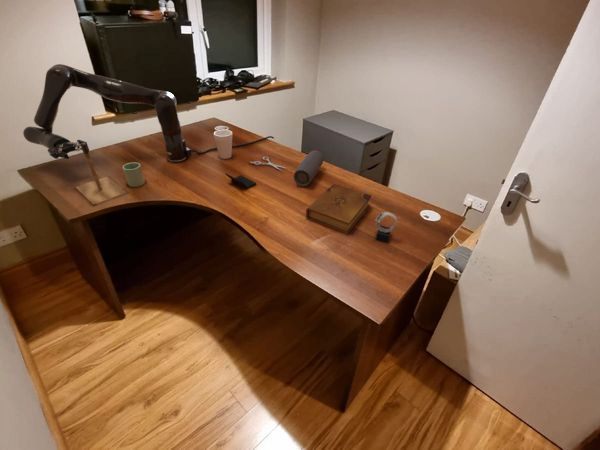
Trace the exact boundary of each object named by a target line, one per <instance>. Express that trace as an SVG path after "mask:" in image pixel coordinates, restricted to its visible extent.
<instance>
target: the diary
mask: <svg viewBox="0 0 600 450" xmlns="http://www.w3.org/2000/svg"><path fill="white" fill-rule="evenodd" d="M371 198H372V195H371V194H368V193H365V192H362V191H358V190H355V189H353V188H349V187H346V186H342V185H340V184H336V183H333V184H331V185H330V186H329V187H328V188H327V189H325V190H324V191H323V193H322V194H320V196H319V197H318V198H317V199H315V200H314V201H313V202H312V203H311V204H310V205H309V206H308V207H307V208H306V210H305V211H306V212H305V218H306V219H307V220H308V221H311V222H313V223H315V224H318V225H321V226H324V227H326V228H329V229H332V230H334V231H337V232H339V233H343V234H344V235H349V233H350V232H351V231H352V230H353V228H354V227H355V225H356V224H357V223H358V222H359V221H360V219H361V218H362V217H363V215H364V214H365V213H366V212H367V210H368V209H369V208H370V207H371V204H370V203H369V202H370V200H371Z"/></svg>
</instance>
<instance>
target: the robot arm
mask: <svg viewBox="0 0 600 450" xmlns="http://www.w3.org/2000/svg"><path fill="white" fill-rule="evenodd" d="M71 87H75V88H81V89H85V90H89V91H90V92H93V93H95V94H96V95H99V96H100V97H102V98H104V99H106V100H110V101H114V102H118V103H123V104H124V103H125V104H146V105H150V106H153V107H154V109H155V113H156V117H157V121H158V124H159V126H160V131H161V134H162V138H163V143H164V147H165V152H166V155H167V160H168V162H171V163H180V162H184V161H186V160H187V159H188V158H189V156H192V152H194V153H196V154H198V155H203V154H207V153H208V152H211V151H216V150H218V149H217V147H213V148H208V149H207V150H204V151H198V150H195V149H191V148H189V147H187V144H186V141H185V139H184V137H183V133H182V128H181V122H180V119H179V115H178V111H177V103H178V102H177V98H176V96H174V94H173V93H171V92H169V91H165V90H161V89H153V88H147V87H144V86H141V85H138V84H134V83H130V82H128V81H127V82H126V81H123V80H119V79H116V78H111V77H107V76H104V75H100V74H99V75H98V74H95V73H90V72H86V71H83V70H80V69H78V68H74V67H72V66H69V65H66V64H62V63H58V64H54V65H52V66H51V67H50V68H49V69H47V71H46V73H45V79H44V87H43V92H42V97H41V100H40V102H39V105H38V107H37V110H36V113H35V115H34V118H33V122H34V124H35V125H36V126H27V127H25V128H24V129H23V132H22V134H23V137H24V139H25V140H26V141H27V142H29V143H31V144H35V145H39V146H43V147H45V148H47V153H48V155H49V156H50V157H52V158H53V159H55V160H57V159H59V158H60V159H61V158H62V159H66V160H70V156H69V155H68V154H69V153H71V152H72V153H73V152H80V151H82V148H81V146H80V144H81V143H85V144H86V146H87V149H88V152H89V153H90V148H89V145H88V142H87V141H84V140H81V139H77V140H76V141H75V142H74V141H70V140H69V139H68V138H66V137H64V136H62V135H59V134H57V133H53V129H54V123H55V121H56V119H57V116H58V112H59V108H60V107H59V106H60V103H61V100H62V99H63V97H64V95H65V94H66V92H67V91H68V90H69V89H71ZM37 126H38V127H37ZM268 139H273V140H274V139H275V137H274V136H273V135H268V136H266V137H262V138H259V139H257V140H253V141H249V142H245V143H241V144H236V145H232V148H238V147H243V146H248V145H251V144H255V143H258V142H261V141H265V140H268Z"/></svg>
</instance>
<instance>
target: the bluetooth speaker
mask: <svg viewBox="0 0 600 450" xmlns="http://www.w3.org/2000/svg"><path fill="white" fill-rule="evenodd" d="M324 157H325V156H324V155H323V153H322V152H321V151H319V150H317V149H313V150H312V151H310V152H309V153H308V154H307V155H306V156H305V157H304V158H303V159H302V161H301V162H300V163H299V165H298V166H297V168H296V169H295V171H294V174H293V180H294V182H295V183H296V184H297V185H299V186H301V187H305V186H308V185H309V184H310V183H311V182H312V181H313V179H314V178H315V177H316V175H317V174H318V173H319V171H320V169H321V167H322V165H323V164H324V160H325V158H324Z"/></svg>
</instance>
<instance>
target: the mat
mask: <svg viewBox="0 0 600 450" xmlns="http://www.w3.org/2000/svg"><path fill="white" fill-rule="evenodd" d="M98 179H99V181H100V184H101V187H102V190H99V189H98V187H97V184H96V182H95V180H92V181H89V182H86V183H83V184H80V185H77V186H75V189H76V190H77V191H78V192H79V193H80V194H81V195H82V196H83V197H84V198H85V199H86V200H87V201H88V202H89V203H90V204H91V205H92V206H96V205H97V204H99V203H102V202H104V201H106V200H110V199H113V198H115V197H117V196H120V195H123V194H126V193H127V191H125V189H123V188H122V187H121V186H120V185H119V184H117V183H116V182H115V181H113V179H111V178H110V177H109V176H104V177H101V178H98Z"/></svg>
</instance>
